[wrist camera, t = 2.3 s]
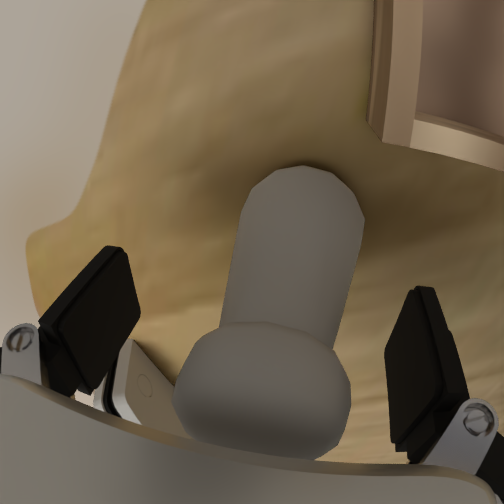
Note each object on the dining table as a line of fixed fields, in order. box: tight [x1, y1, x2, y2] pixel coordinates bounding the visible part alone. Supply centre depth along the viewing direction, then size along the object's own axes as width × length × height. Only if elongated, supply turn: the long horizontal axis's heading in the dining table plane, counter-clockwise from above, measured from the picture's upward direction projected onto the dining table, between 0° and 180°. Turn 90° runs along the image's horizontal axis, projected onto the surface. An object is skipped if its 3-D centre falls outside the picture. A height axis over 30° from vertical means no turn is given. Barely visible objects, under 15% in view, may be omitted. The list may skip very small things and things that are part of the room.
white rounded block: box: [93, 339, 194, 440], centre depth 28 cm, size 17×5×10 cm, turn 25°
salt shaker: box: [171, 165, 365, 460], centre depth 12 cm, size 6×6×13 cm
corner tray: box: [366, 0, 504, 172], centre depth 8 cm, size 11×11×5 cm
